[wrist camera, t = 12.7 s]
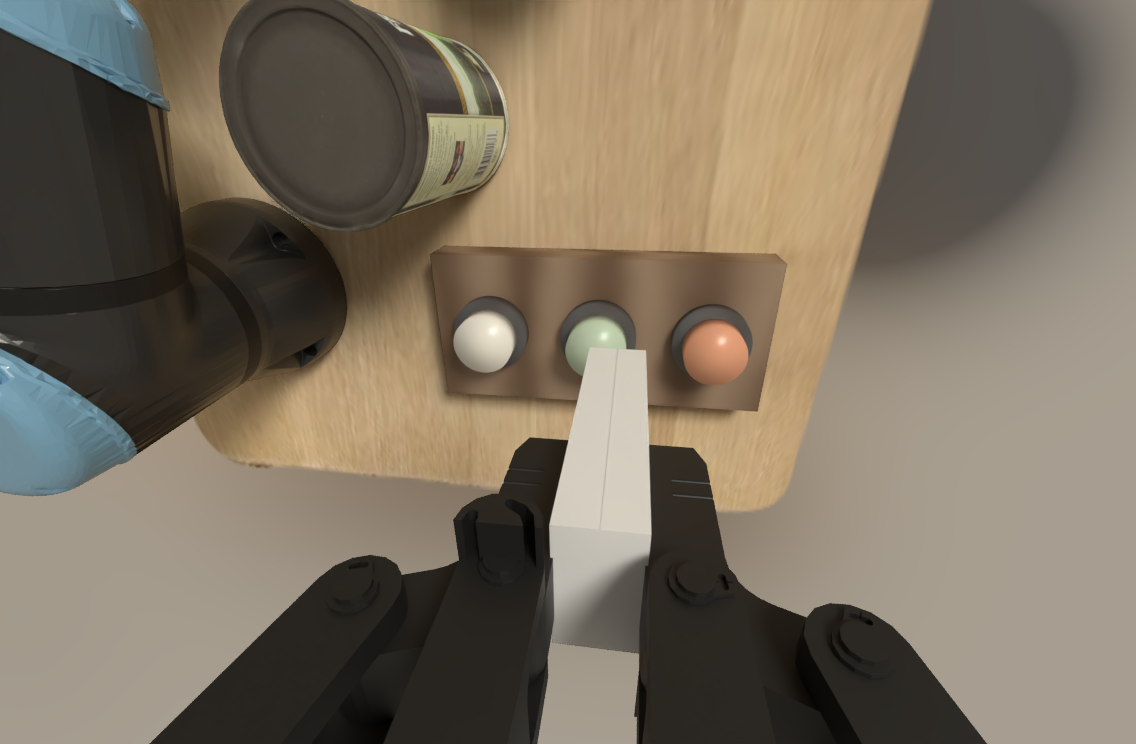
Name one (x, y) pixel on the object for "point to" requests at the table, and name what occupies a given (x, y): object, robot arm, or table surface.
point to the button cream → (485, 341)
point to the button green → (592, 339)
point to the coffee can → (356, 111)
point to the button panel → (615, 289)
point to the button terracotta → (714, 352)
